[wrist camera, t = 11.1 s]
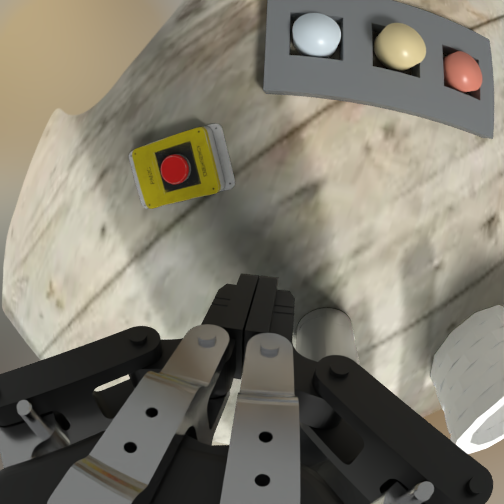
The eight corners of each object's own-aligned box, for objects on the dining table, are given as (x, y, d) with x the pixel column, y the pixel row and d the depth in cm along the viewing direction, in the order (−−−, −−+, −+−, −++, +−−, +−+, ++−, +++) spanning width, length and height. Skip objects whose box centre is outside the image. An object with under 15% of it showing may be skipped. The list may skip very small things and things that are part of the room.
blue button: (336, 27, 26) (340, 16, 23) (336, 63, 28) (341, 54, 25) (293, 22, 27) (292, 11, 23) (292, 58, 29) (291, 49, 26)
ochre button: (413, 39, 23) (424, 30, 20) (414, 75, 26) (426, 70, 22) (373, 28, 24) (380, 17, 20) (373, 65, 26) (382, 58, 23)
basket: (500, 372, 43) (527, 426, 26) (421, 400, 49) (438, 468, 32) (527, 286, 34) (577, 341, 17) (438, 316, 40) (480, 396, 23)
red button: (467, 64, 24) (481, 60, 20) (468, 98, 26) (482, 96, 22) (436, 51, 24) (448, 45, 21) (437, 86, 27) (450, 83, 23)
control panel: (479, 43, 21) (489, 39, 19) (481, 137, 28) (492, 138, 25) (270, -7, 25) (268, -16, 23) (266, 93, 32) (263, 90, 29)
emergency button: (230, 193, 34) (130, 217, 37) (237, 187, 38) (145, 209, 41) (212, 120, 31) (113, 155, 34) (221, 121, 35) (129, 152, 38)
